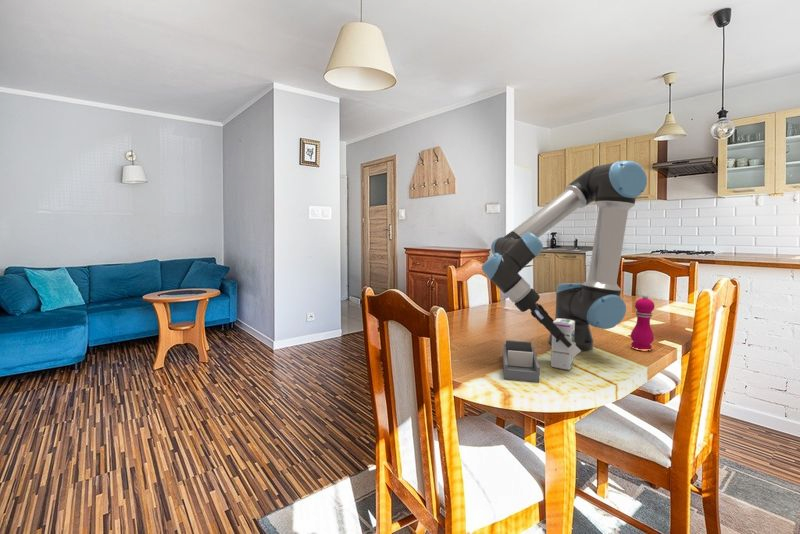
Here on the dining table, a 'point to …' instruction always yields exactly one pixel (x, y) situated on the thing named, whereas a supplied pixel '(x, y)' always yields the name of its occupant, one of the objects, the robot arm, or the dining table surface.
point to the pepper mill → (643, 324)
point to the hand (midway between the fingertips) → (574, 349)
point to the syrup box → (558, 351)
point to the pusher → (520, 358)
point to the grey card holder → (518, 371)
